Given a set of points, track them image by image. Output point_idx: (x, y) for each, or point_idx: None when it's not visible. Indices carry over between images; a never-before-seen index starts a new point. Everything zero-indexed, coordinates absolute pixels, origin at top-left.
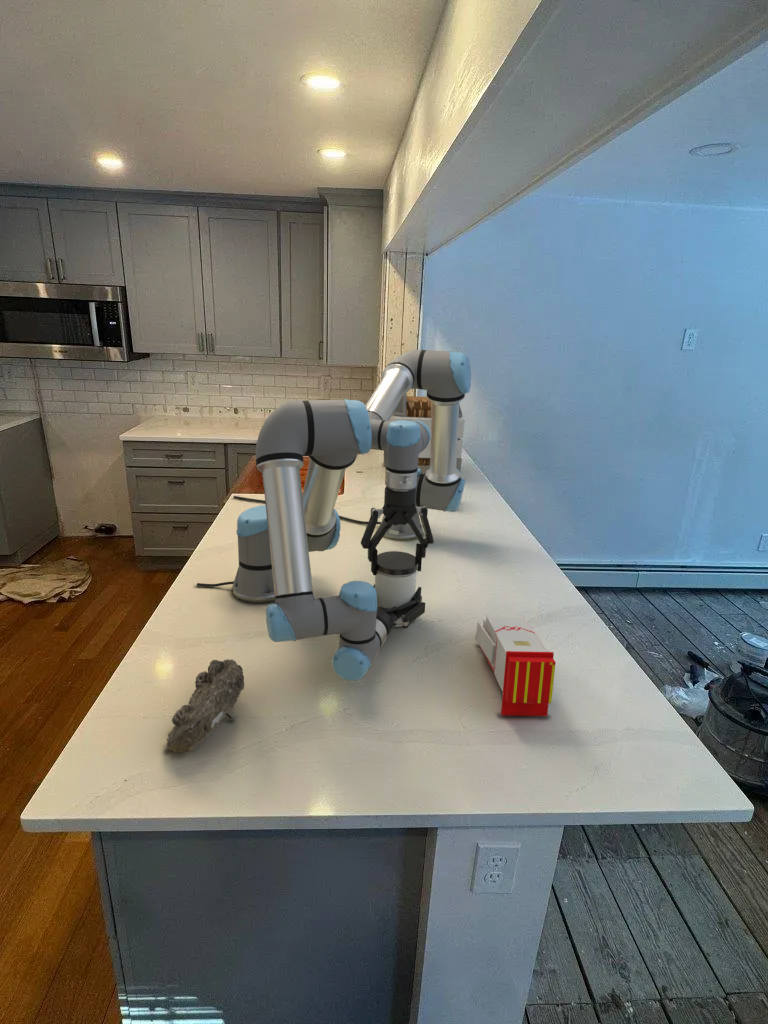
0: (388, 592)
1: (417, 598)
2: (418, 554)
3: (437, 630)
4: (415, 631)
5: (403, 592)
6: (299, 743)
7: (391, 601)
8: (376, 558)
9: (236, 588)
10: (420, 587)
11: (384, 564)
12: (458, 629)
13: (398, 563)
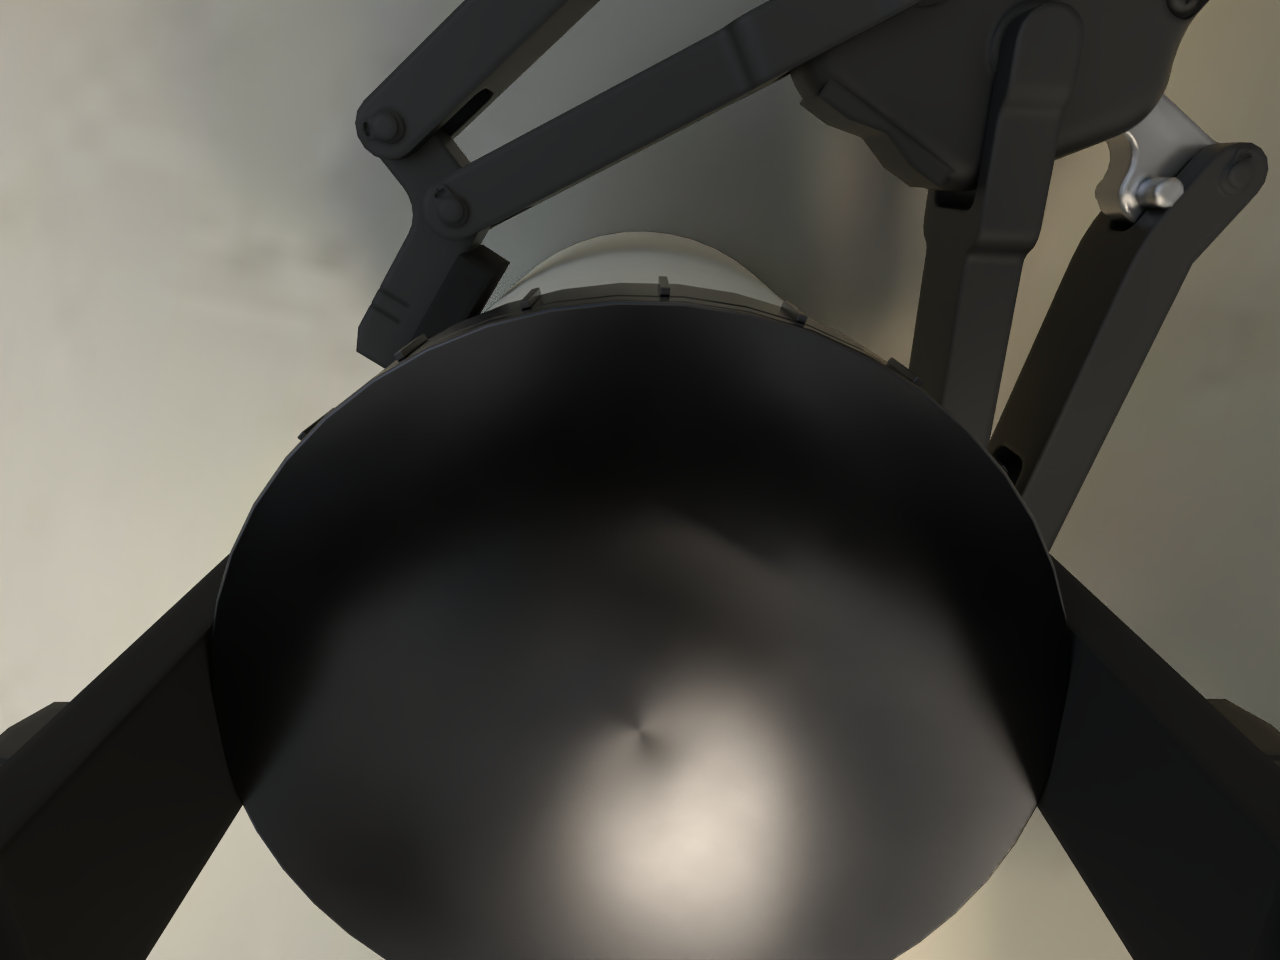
0: None
1: (419, 304)
2: (145, 753)
3: (315, 98)
4: (519, 124)
5: (608, 268)
6: None
7: (746, 278)
8: (1172, 709)
9: None
10: None
11: (946, 593)
12: (113, 73)
13: (650, 589)
